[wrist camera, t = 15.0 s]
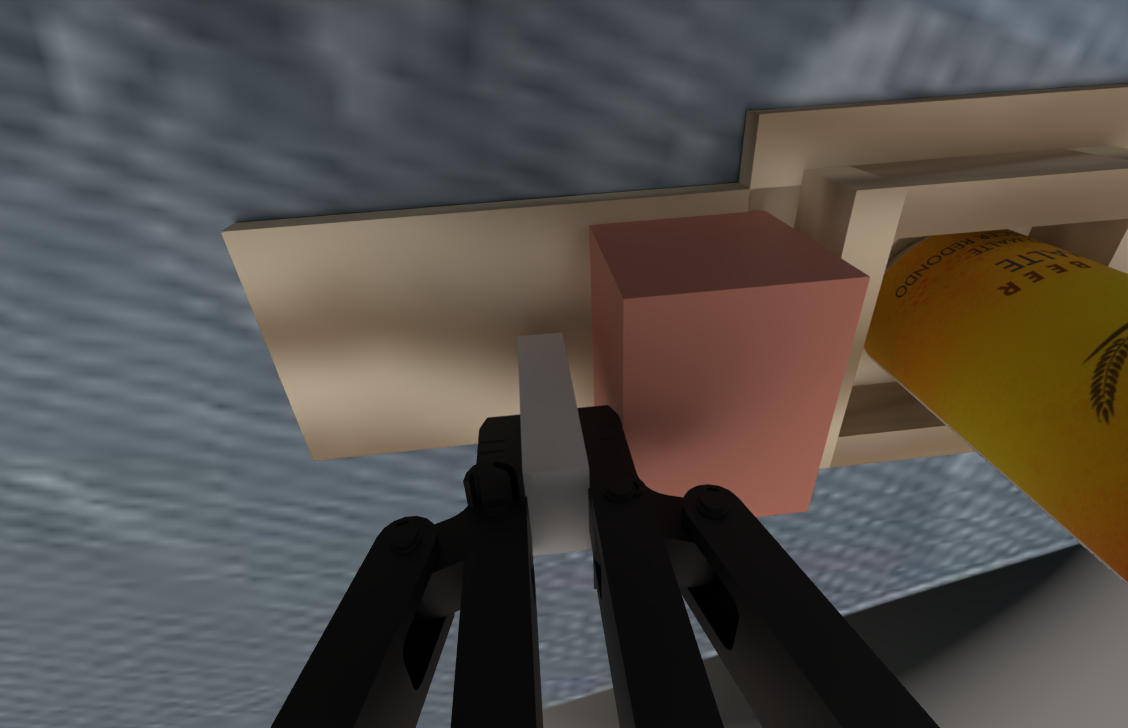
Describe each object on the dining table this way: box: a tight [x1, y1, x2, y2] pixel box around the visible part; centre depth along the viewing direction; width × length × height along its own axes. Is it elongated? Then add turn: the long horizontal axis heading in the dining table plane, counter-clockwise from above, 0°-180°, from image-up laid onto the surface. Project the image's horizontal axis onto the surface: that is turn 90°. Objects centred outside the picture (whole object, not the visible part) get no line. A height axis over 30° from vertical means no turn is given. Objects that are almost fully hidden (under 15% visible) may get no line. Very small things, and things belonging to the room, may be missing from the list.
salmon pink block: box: [589, 211, 870, 517], centre depth 17 cm, size 8×6×6 cm
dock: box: [221, 83, 1128, 469], centre depth 19 cm, size 14×31×4 cm, turn 93°
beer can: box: [864, 229, 1128, 585], centre depth 14 cm, size 6×6×15 cm
